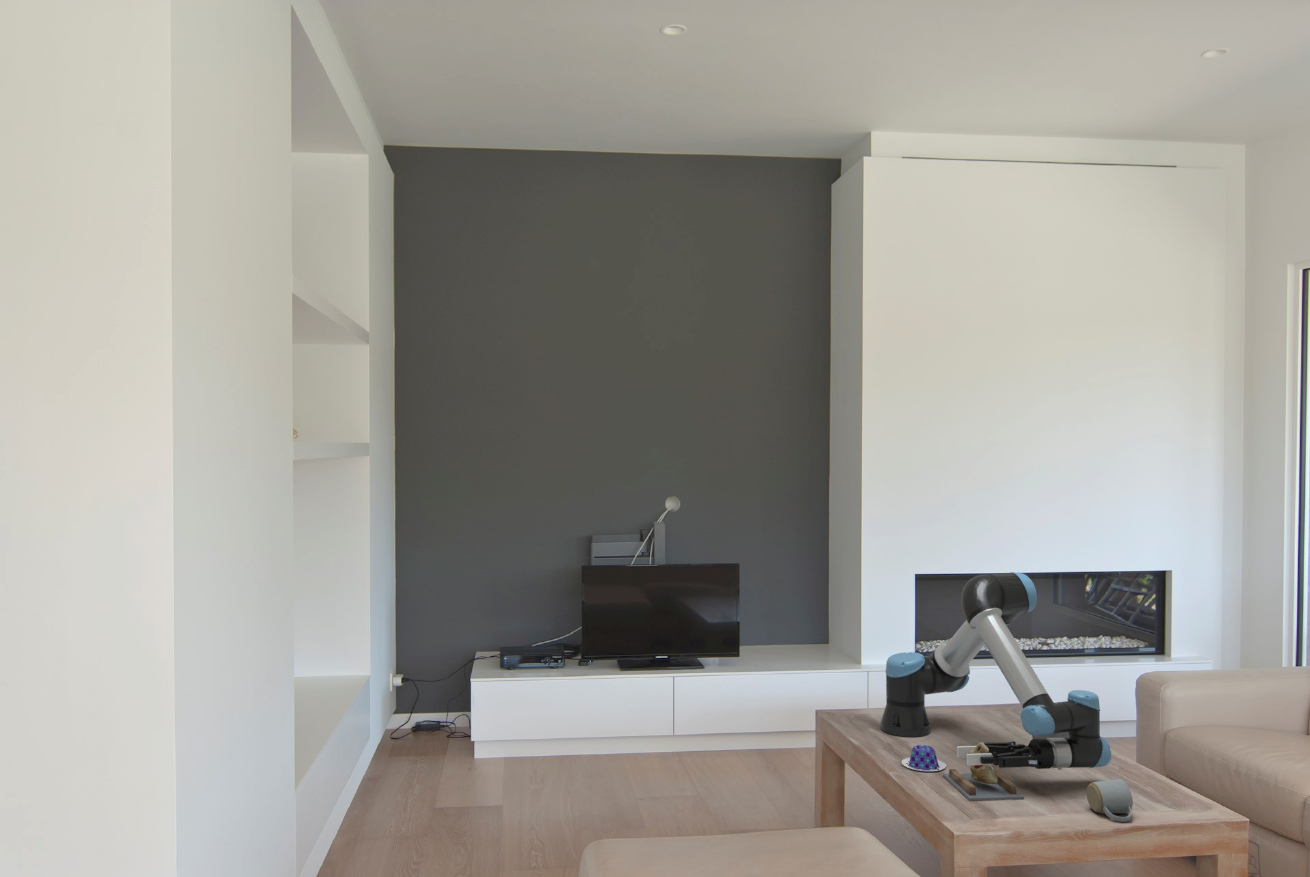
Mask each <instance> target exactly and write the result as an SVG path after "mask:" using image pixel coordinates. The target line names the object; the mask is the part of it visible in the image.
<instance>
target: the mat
mask: <svg viewBox="0 0 1310 877" xmlns="http://www.w3.org/2000/svg"><path fill="white" fill-rule="evenodd" d="M960 774H961V775H962V776H963V777H965V778H966V779H967V780H968V781H969V782H970V783H972V784H973V785H974V786H975V787H976V795H969V794H968V793H967V792H966V791H965V790H964V789H963V788H961V787H960V786H959V785H958V784H957V783H956V782H955V781H954V780H953V779H951V778H950V777H949V773H942V777H943V778H944V779H945V780H946V781H947V782H948V783H950V784H951V786H952V787H954V789H956V790H957V792H959V793H960V794H962V796H964V797H965V798H966V799H967V801H970V802H973V801H975V802H976V801H977V802H978V801H980V802H981V801H992V800H991V799H1014V800H1021V799H1020V798H1024V799H1025V797H1024V796H1023V795H1022V793H1020V792H1018V791H1017V790H1016V794H1010V793H1008V792H1007V791H1006V790H1005V789H1004V788H1002V787H1001V786H1000V785H999V784H987V783H983V782H979V781H976V780H974V779H973V778H972V777H971V775H972V772H969V773H968V772H967V773H966V772H965V773H960Z"/></svg>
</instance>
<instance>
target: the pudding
mask: <svg viewBox="0 0 1310 877" xmlns="http://www.w3.org/2000/svg"><path fill="white" fill-rule="evenodd" d="M908 761H909V762H908ZM906 763H908V764H906ZM901 765H902V766H904V767H905V768H908V769H911V770H915V771H920V772H925V771H930V772H937V771H942V770H945V769H946V767H947V764H946V763H945V762H944V761H941V759H940V760H939V759H938V757H937V754H936V750H935V749H934V747H933V746H930V745H924V744H922V745H921V744H918V745H915V746H913V747H912V749H911V753H910V757H906V758H903V759H902V760H901ZM908 765H909V766H908ZM939 765H941V766H940V767H941V768H939ZM913 767H914V768H913ZM937 767H938V768H937ZM919 769H922V770H919ZM930 769H936V770H930ZM937 769H939V770H937Z"/></svg>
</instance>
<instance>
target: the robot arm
mask: <svg viewBox="0 0 1310 877" xmlns="http://www.w3.org/2000/svg"><path fill="white" fill-rule="evenodd" d="M960 596H961V597H960V604H961V610H962V613H963V616H964V618H965V621H964V622H963V624H961V626H960V627H959V628H958V629H957V630H956V632H955V633H954V634H953V636H952V637H951V638H950V639H949V641H948V642H947V643H946V644H940V645H938V646H937V647H936V649H935V650H934V651H933V652H932V653H931V654H930V655H927V656H926V655H923V654H922V653H919V652H914V651H911V652H899V653H894V654H891V655H890V656H889V657H888V658H887V660H886V664H885V665H886V666H885V679H886V680H885V683H886V684H885V687H886V689H885V690H886V692H885V693H886V694H885V695H886V704H885V706H884V710H883V714H882V716H881V720H880V729H881V731H883V732H884V733H886V734H888V735H893V736H898V737H908V738H915V737H918V738H919V737H923V736H927V735H930V734H931V730H932V728H931V721H930V719H929V715H928V712H927V710H926V705H925V702H926V701H925V695H932V694H933V695H934V694H940V693H954V692H956V691H960V690H962V689H963V688H965V687H966V686H967V684H968V683H969V680H970V676H969V675H970V674H971V670H970V663H971V661H973V659H974V658H976V656H977V655H978V654H979V653H980V651H981V650H982V649H983V648H984V647H986V648H987V650H988V651H989V653H990V655H991V657H992V658H993V660H994V662H995V664H996V665H997V666H998V668H999V670H1000V672H1001V673H1002V675H1003V676H1004V678H1005V680H1006V682H1007V684H1008V685H1009V687H1010V688H1011V690H1012V692H1013V694H1014V696H1015V698H1016V699H1017V700H1018V702H1019V704H1020V706H1021V707H1022V710H1021V712H1020V720H1021V726H1022V728H1023V729H1024V731H1025V732H1026V733H1027V734H1029V735H1031V736H1032V735H1033V736H1048V735H1051V734H1056V733H1062V732H1069V737H1068V738H1048V739H1045V738H1041V739H1031V740H1030V741H1029V743H1028V745H1025V744H1022V743H1021V744H1020V743H1018V744H1016V741H1014V740H1013V741H1007V742H1006V741H1005V742H983V743H984V744H985V746H986V747H988V748H989V753H981V754H969V752H970V751H971V750H973V749H975V748H976V746H977V745H960V746H959V745H958V746H956V757H957V758H958V759H959V758H965V760H966V765H967V766H971V765H991V766H992V765H993V766H998V767H999V768H1000V769H1007V768H1008V769H1009V768H1028V767H1030V768H1035V769H1037V770H1045V769H1048V770H1049V769H1057V770H1059V771H1061V770H1062V769H1070V768H1072V769H1073V768H1075V769H1077V768H1081V769H1082V768H1090V769H1094V768H1102V767H1106V766H1108V765H1109V764H1110V763H1111V760H1112V751H1111V745H1110V743H1109V741H1108V740H1107V739H1106V738H1105V737H1102V736H1101V735H1100V731H1101V728H1100V727H1101V726H1100V724H1101V722H1100V721H1101V719H1100V717H1101V716H1100V714H1101V707H1100V698H1099V696H1098V694H1096V693H1095V692H1092V691H1088V690H1082V689H1080V690H1079V689H1075V690H1070V691H1069V692H1068V694H1067V699H1066V700H1067V701H1065V700H1064V701H1058V702H1054V701H1053V699H1052V698H1051V696H1050V694H1049V693H1048V691H1047V690H1046V689H1045V686H1044V685H1043V683H1042V682H1041V679H1039V677H1038V674H1036V672H1035V670H1034V669H1033V667H1032V666H1031V664H1030V662H1029V661H1028V658H1027V657H1026V655H1025V654H1024V652H1023V651H1022V649H1021V648H1020V646H1019V643H1018V642H1017V641H1016V639H1015V637H1014V636H1013V634H1012V633H1011V631H1010V630H1009V628H1008V626H1009V625H1010V624H1012V622H1014V621H1015V620H1016V618H1017V617H1018V616H1019V615H1020V614H1028V613H1030V612H1032V611H1033V610H1034V609H1035V607H1036V605H1037V601H1038V600H1037V599H1038V597H1037V590H1036V587H1035V584H1034V582H1033V581H1032V579H1030V577H1029V576H1028V575H1027V574H1024V573H1022V572H1015V571H1014V572H1013V571H1010V572H1003V573H993V574H992V573H991V574H979V575H976V576H973V577H972V578H970V579H969V580H968V581H967V582H966V583H965V585H964V587H963V589H962V592H961V594H960Z"/></svg>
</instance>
